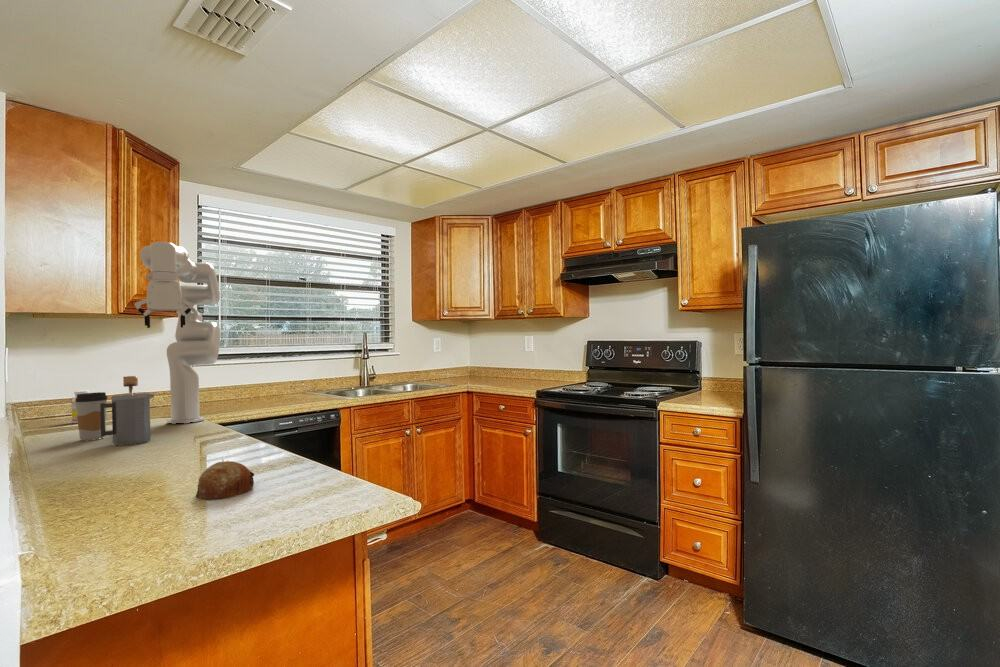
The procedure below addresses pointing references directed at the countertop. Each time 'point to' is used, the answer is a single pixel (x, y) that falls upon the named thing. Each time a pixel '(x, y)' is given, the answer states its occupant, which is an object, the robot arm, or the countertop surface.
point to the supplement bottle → (74, 408)
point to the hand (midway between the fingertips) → (165, 327)
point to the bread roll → (224, 481)
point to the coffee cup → (89, 414)
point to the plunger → (130, 382)
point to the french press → (128, 418)
